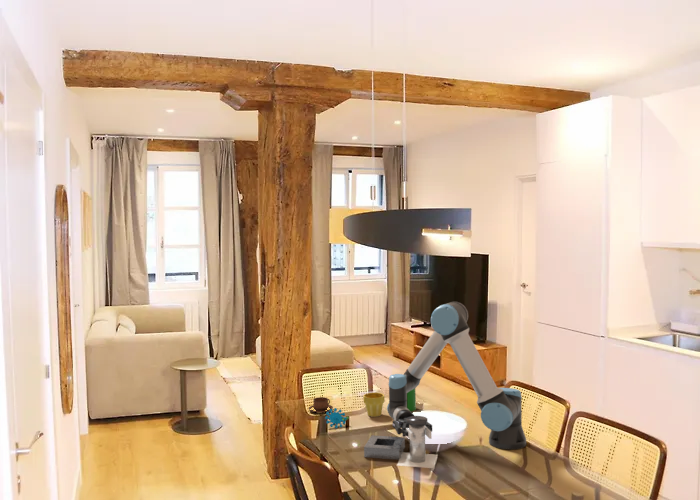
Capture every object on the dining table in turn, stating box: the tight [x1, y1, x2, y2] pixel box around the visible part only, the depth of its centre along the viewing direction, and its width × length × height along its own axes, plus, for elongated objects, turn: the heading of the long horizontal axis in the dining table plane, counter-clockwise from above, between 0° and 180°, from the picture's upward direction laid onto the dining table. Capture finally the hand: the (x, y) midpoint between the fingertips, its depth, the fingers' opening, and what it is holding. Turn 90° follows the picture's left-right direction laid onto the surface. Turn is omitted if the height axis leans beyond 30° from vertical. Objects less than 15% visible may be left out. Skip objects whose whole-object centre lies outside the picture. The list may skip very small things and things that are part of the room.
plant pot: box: [362, 392, 385, 418], centre depth 300 cm, size 10×10×10 cm
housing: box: [363, 434, 406, 461], centre depth 247 cm, size 14×14×5 cm
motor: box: [407, 388, 417, 412], centre depth 309 cm, size 10×9×20 cm
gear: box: [324, 407, 349, 429], centre depth 285 cm, size 11×6×10 cm
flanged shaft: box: [407, 415, 428, 463], centre depth 238 cm, size 8×8×16 cm
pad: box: [396, 451, 439, 472], centre depth 238 cm, size 14×14×1 cm
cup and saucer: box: [308, 396, 334, 414], centre depth 308 cm, size 12×12×6 cm
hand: (421, 436), depth 233 cm, fingers open, 7 cm apart
